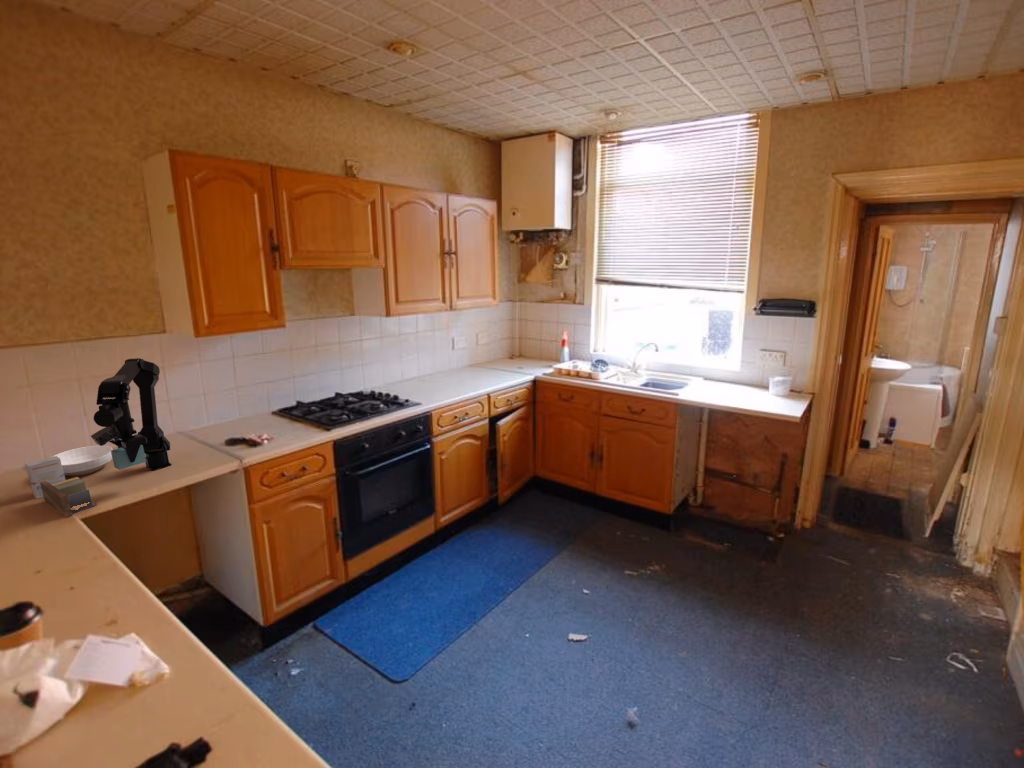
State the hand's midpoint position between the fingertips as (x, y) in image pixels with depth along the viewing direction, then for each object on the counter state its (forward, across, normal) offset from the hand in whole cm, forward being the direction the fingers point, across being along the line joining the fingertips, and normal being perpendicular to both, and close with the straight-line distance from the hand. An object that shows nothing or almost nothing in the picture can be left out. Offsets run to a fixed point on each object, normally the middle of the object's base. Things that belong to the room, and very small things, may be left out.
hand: (129, 460), depth 181 cm
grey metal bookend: (+11, -1, -16) cm, 19 cm away
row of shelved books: (+11, -12, -15) cm, 22 cm away
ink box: (+11, -23, -17) cm, 31 cm away
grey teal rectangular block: (+1, 0, 0) cm, 1 cm away
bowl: (+11, -36, -3) cm, 38 cm away
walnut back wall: (+11, -7, -20) cm, 23 cm away
